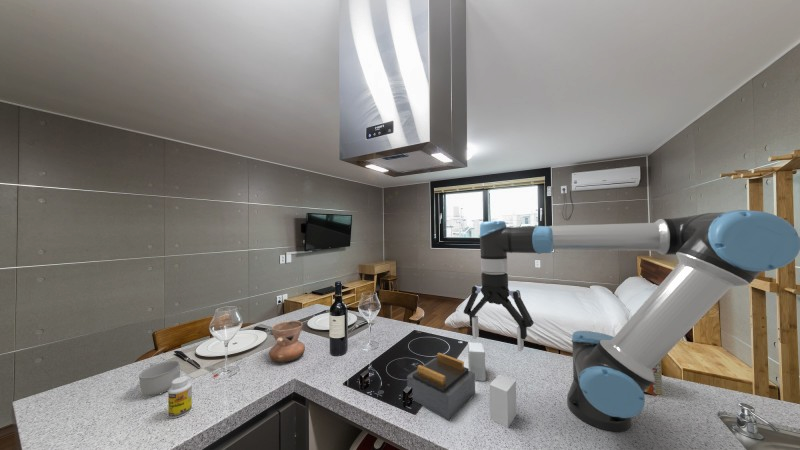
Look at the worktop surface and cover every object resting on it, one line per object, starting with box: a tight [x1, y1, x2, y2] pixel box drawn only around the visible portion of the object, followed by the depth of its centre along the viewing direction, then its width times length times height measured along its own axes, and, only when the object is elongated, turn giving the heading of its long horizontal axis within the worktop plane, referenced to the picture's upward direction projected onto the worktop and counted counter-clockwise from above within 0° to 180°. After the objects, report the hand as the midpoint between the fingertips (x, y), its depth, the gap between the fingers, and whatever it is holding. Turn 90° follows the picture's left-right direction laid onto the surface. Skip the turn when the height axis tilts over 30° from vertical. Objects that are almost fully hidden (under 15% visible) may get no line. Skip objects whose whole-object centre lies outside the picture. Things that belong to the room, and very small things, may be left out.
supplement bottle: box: [167, 375, 193, 419], centre depth 81 cm, size 6×6×10 cm
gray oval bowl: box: [138, 359, 181, 396], centre depth 94 cm, size 14×11×8 cm
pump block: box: [489, 374, 518, 429], centre depth 77 cm, size 5×7×10 cm
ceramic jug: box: [268, 320, 306, 363], centre depth 115 cm, size 18×14×14 cm
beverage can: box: [643, 359, 663, 397], centre depth 89 cm, size 9×9×12 cm
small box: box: [467, 341, 487, 382], centre depth 98 cm, size 8×6×10 cm
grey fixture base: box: [406, 352, 476, 422], centre depth 87 cm, size 16×16×10 cm
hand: (497, 343), depth 78 cm, fingers open, 13 cm apart
